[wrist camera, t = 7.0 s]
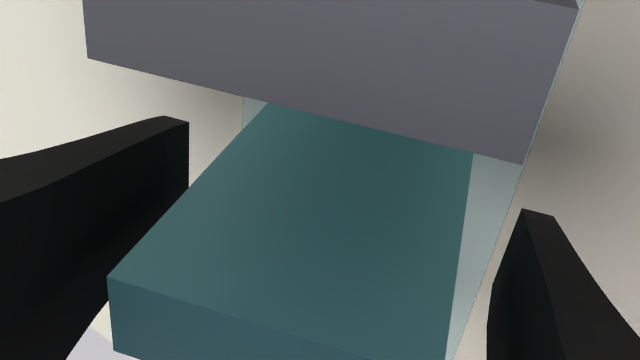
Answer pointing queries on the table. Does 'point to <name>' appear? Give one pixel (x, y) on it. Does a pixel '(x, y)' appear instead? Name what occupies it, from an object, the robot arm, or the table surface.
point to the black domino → (357, 59)
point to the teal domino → (300, 250)
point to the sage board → (471, 217)
